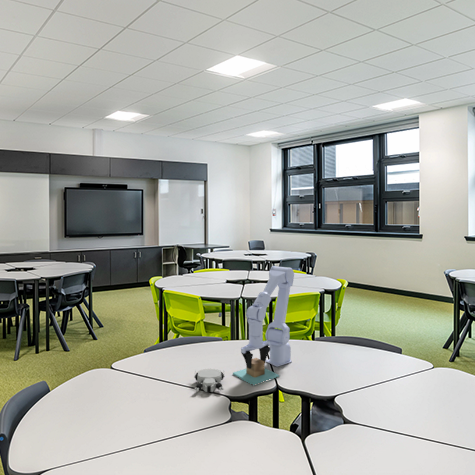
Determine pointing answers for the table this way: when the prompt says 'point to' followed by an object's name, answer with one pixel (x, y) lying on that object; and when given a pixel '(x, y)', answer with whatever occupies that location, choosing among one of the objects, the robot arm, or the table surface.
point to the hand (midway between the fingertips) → (255, 365)
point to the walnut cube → (256, 368)
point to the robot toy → (209, 379)
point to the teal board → (255, 380)
